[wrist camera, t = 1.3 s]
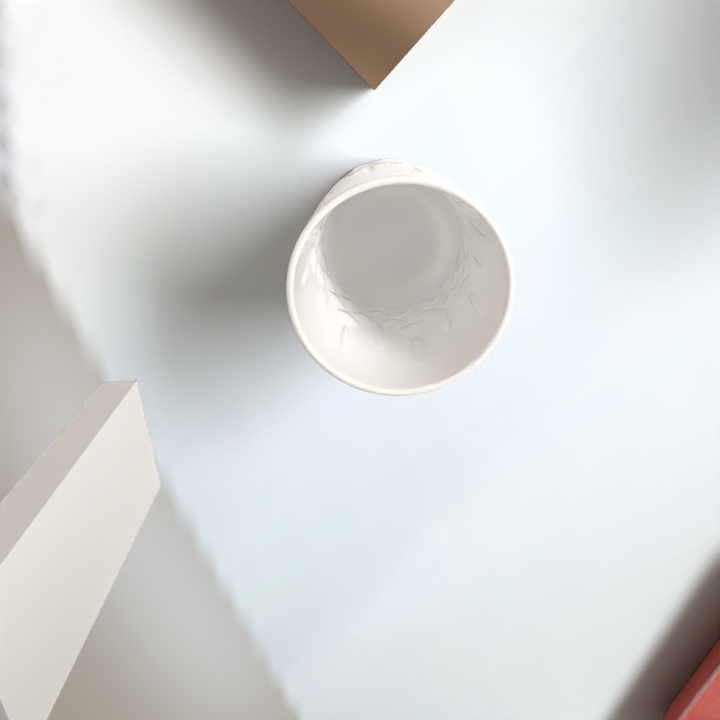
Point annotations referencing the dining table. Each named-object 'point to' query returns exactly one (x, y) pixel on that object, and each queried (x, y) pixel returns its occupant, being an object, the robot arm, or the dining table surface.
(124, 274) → the dining table surface
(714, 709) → the plant saucer
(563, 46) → the dining table surface
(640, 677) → the dining table surface
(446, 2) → the walnut base
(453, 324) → the white cup
